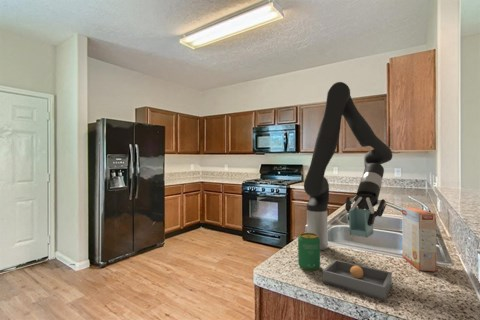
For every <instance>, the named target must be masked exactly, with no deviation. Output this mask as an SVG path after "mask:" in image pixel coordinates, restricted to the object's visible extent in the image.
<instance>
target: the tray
mask: <svg viewBox="0 0 480 320" xmlns="http://www.w3.org/2000/svg"><path fill="white" fill-rule="evenodd" d="M353 266H359V267H361V268H362V270H363V277H362V278H360V279H356V278H354V277H353V276H352V275H351V273H350V269H351V267H353ZM322 283H323V284H325V285H328V286H332V287H335V288H338V289H342V290H344V291H349V292H352V293H355V294H359V295H362V296H365V297H369V298H372V299H376V300H379V301H382V302H387V299H388V296H389V293H390V291H391V289H392V286H393V272H391V271H387V270H382V269H377V268H373V267H370V266H364V265H361V264H357V263H356V264H355V263H352V262H348V261H347V262H346V261H342V260H339V259H338V260H337V259H334V260H333V261H331V263H329V265H327V266H326V267H325V268H324V269H323V270H322Z"/></svg>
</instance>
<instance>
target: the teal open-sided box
mask: <svg viewBox="0 0 480 320" xmlns="http://www.w3.org/2000/svg"><path fill="white" fill-rule="evenodd" d="M370 214H371V212H370V209H369V210H366V209H353V210H350V211H349V213H348V215H349V220H348V221H349V222H348V224H349V225H348V226H349V227H348V228H349V235H350V236H355V237H362V238H369V237H371V236H372V235H374V224H373V225H371V226H369V225H368V218H369V215H370Z"/></svg>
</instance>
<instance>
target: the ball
mask: <svg viewBox="0 0 480 320" xmlns="http://www.w3.org/2000/svg"><path fill="white" fill-rule="evenodd" d="M350 273H351V275H352V276H353V277H354V278H356V279H360V278H362V277H363V270H362V268H361V267H359V266H353V267H351V269H350Z"/></svg>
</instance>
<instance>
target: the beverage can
mask: <svg viewBox="0 0 480 320" xmlns="http://www.w3.org/2000/svg"><path fill="white" fill-rule="evenodd" d="M297 253H298V254H297V255H298V256H297V258H298V266H299V268H300V269H301V268H302V270H303V269H304V270H303V271H307V270H308V271H307V272H314V271H315V270H316V271H319V269H320V267H321V250H320V239H319V237H318V235H317V234H314V233H305V232H302V233H299V236H298V238H297Z"/></svg>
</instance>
